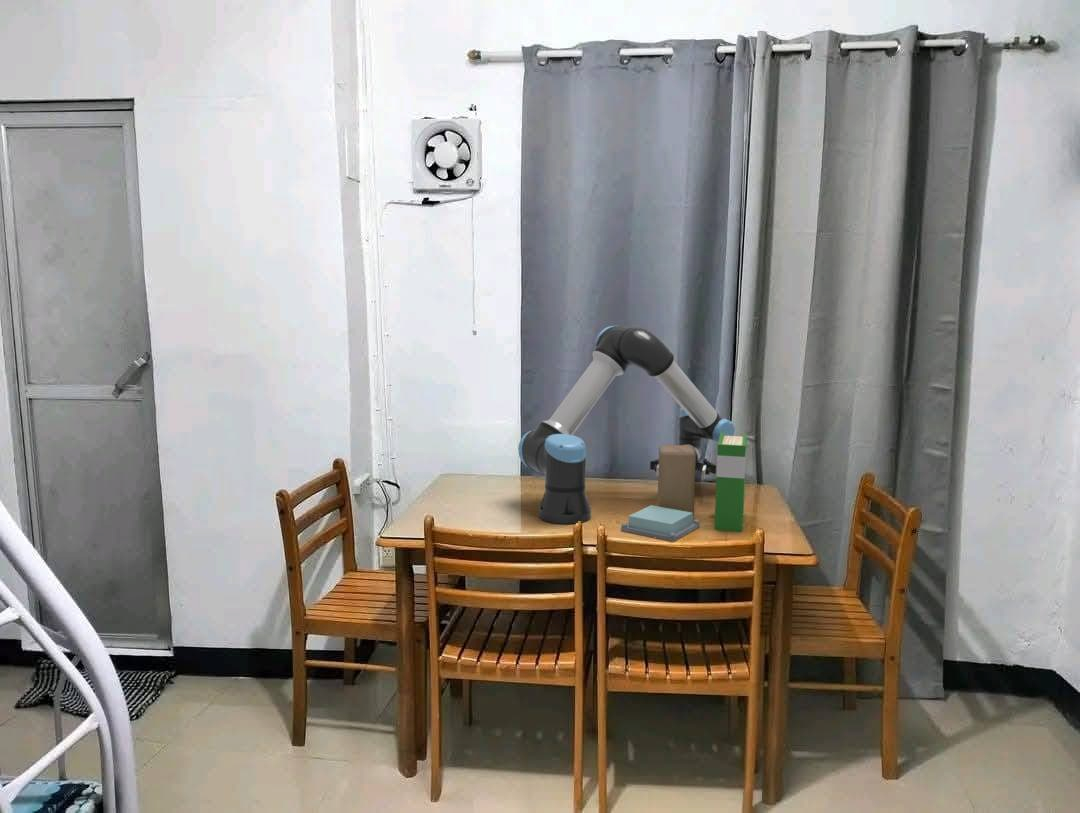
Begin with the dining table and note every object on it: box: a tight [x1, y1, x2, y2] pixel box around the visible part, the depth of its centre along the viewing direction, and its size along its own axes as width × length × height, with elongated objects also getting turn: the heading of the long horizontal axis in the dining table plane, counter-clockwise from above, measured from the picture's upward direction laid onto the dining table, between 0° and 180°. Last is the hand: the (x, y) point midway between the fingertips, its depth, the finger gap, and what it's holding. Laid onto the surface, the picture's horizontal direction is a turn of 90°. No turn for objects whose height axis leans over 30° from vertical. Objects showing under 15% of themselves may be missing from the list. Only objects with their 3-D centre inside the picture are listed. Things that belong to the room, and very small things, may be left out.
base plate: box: [620, 504, 701, 542], centre depth 221 cm, size 16×16×4 cm
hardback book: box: [714, 433, 748, 533], centre depth 226 cm, size 18×7×24 cm, turn 165°
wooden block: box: [657, 444, 696, 517], centre depth 233 cm, size 10×10×20 cm
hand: (680, 473), depth 240 cm, fingers open, 13 cm apart
